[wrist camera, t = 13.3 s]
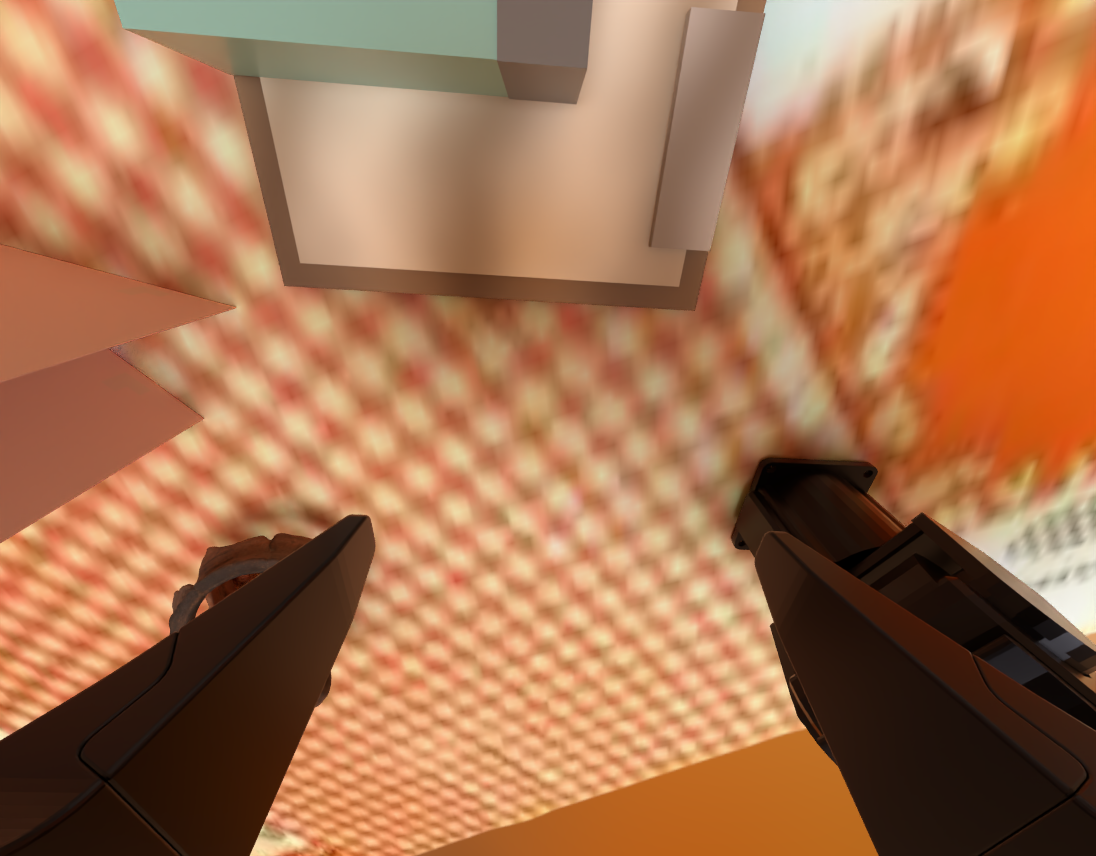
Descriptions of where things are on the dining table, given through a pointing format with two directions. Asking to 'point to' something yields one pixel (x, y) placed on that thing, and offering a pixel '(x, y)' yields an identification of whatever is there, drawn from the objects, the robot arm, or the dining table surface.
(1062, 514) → the dining table surface
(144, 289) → the greeting card
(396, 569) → the dining table surface
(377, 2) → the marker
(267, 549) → the pottery mug
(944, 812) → the robot arm
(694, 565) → the dining table surface
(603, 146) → the clipboard
